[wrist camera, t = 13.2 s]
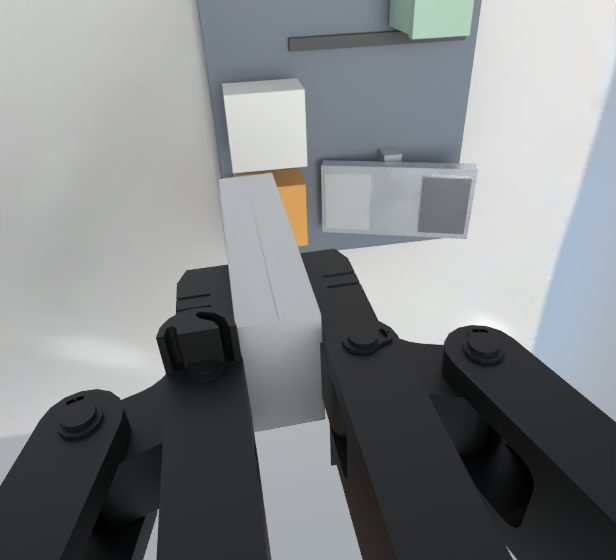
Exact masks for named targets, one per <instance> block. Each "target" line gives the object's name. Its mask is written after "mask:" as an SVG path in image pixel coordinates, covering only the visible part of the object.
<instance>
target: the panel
mask: <svg viewBox="0 0 616 560" xmlns="http://www.w3.org/2000/svg"><path fill="white" fill-rule="evenodd" d="M198 7H199V14H200V22H201V29H202V36H203V44H204V51H205V58H206V66H207V73H208V80H209V88H210V95H211V102H212V109H213V117H214V124H215V131H216V139H217V146H218V153H219V161H220V168H221V175H222V179H223V178H232V177H234V176H233V174H242V173H233V169H232V161H231V153H230V145H229V136H228V128H227V120H226V112H225V104H224V96H223V87H222V84H224V83H237V82H251V81H264V80H278V79H292V78H297V79H298V80H299V82H300V83H301V85H302V86H303V88H304V89H305V113H306V140H307V166H306V167H296V168H299V170H300V172H301V175H302V177H303V179H304V182H305V184H306V209H307V234H308V245H305V246H298V249H299V252H300V253H305V252H312V251H319V250H327V249H336V250H344V249H353V248H361V247H370V246H379V245H387V244H396V243H405V242H414V241H422V240H431V239H440V238H439V237H418V236H397V235H375V234H354V233H333V232H322V186H321V164H322V162H323V160H342V161H382V162H421V163H459V160H460V153H461V146H462V139H463V131H464V124H465V117H466V110H467V102H468V95H469V88H470V80H471V73H472V66H473V59H474V51H475V44H476V37H477V30H478V22H479V15H480V8H481V0H474V6H473V13H472V21H471V29H470V36H455V37H440V38H425V39H411V38H409V35H408V34H406V33H404V32H402V31H400V30H398V29H395V28H393V27H391V26H389V8H390V0H198ZM285 169H295V168H285ZM285 169H275V170H285ZM264 171H274V170H264ZM264 171H254V172H264ZM243 173H253V172H243Z"/></svg>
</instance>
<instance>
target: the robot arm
mask: <svg viewBox="0 0 616 560" xmlns="http://www.w3.org/2000/svg"><path fill="white" fill-rule="evenodd" d="M218 180H219V189H220V197H221V206H222V215H223V224H224V232H225V241H226V250H227V258H228V265H222V266H215V267H207V268H200V269H193V270H186V272H185V273H184V275H183V276H182V278H181V279H180V281H179V282H178V283H177V297H176V299H177V301H176V315H175V316H173V317H171V318H169V319H168V320H167V321H166V322H165V323H164V324H163V325H162V326H161V327H160V329H159V331H158V334H157V337H156V340H157V343H158V347H159V350H160V354H161V357H162V361H163V364H164V368H165V372H166V375H165V376H164V377H163V378H162V379H161V380H160V381H158V382H157V383H156V384H154V385H153V386H151V387H150V388H148V389H146V390H144V391H142V392H139V393H137V394H135V395H132V396H130V397H127V398H125V399H123V400H120V398H119V397H117V396H116V395H115V394H113V393H112V392H110V391H105V390H99V389H94V390H87V391H81V392H78V393H76V394H73V395H71V396H68V397H66V398H64V399H62V400H61V401H60V402H58V403H57V404H55V405H54V406H52V407H51V408H50V409H49V410H48V411H47V413H46V414H45V415H44V416H43V417H42V419H41V420H40V421H39V423H38V425H37V426H36V428H35V430H34V431H33V433H32V434H31V436H30V438H29V440H28V441H27V443H26V445H25V446H24V448H23V449H22V451H21V453H20V454H19V456H18V458H17V459H16V461H15V463H14V464H13V466H12V468H11V469H10V471H9V472H8V474H7V476H6V477H5V479H4V481H3V482H2V484H1V486H0V560H143V558H144V555H145V551H146V548H147V545H148V542H149V539H150V535H151V532H152V529H153V526H154V522H155V519H156V516H157V509H159V524H158V543H157V560H271V554H270V546H269V539H268V531H267V524H266V516H265V509H264V501H263V493H262V486H261V478H260V471H259V463H258V455H257V449H256V444H255V437H254V432H257V431H263V430H269V429H274V428H280V427H285V426H290V425H296V424H301V423H307V422H312V421H318V420H323V419H325V408H326V412H327V415H328V419H329V422H330V445H331V465H337V468H338V471H339V475H340V479H341V482H342V486H343V489H344V493H345V497H346V500H347V504H348V508H349V511H350V515H351V519H352V522H353V526H354V530H355V533H356V537H357V540H358V544H359V548H360V551H361V555H362V559H363V560H513V559H512V557H511V555H510V553H509V551H508V549H507V547H508V548H509V550H510V551H511V552H512V554H513V555H514V556H515V557H516V558H517V560H616V422H615V421H613V420H612V419H611V418H610V417H609V416H608V415H606V414H605V413H604V412H603V411H601V410H600V409H599V408H598V407H596V406H595V405H594V404H593V403H592V402H590V401H589V400H588V399H587V398H585V397H584V396H583V395H582V394H580V393H579V392H578V391H577V390H576V389H574V388H573V387H572V386H571V385H569V384H568V383H567V382H565V380H563V379H562V378H561V377H560V376H559V375H557V374H556V373H555V372H554V371H552V370H551V369H550V368H549V367H548V366H546V365H545V364H544V363H543V362H541V361H540V360H539V359H538V358H537V357H535V356H534V355H533V354H532V353H530V352H529V351H528V350H527V349H525V348H524V347H523V346H522V345H521V344H519V343H518V342H517V341H516V340H514V339H513V338H512V337H510V336H509V335H507V334H505V333H504V332H502V331H500V330H497V329H494V328H490V327H487V326H476V325H470V326H465V327H460V328H458V329H456V330H454V331H453V332H451V333H449V335H448V337H447V338H446V340H445V342H444V345H434V344H420V343H414V342H408V341H405V340H402V339H399V337H398V335H397V334H396V333H395V332H394V331H393V330H392V328H391V327H389V326H387V325H385V324H383V323H382V322H380V321H378V319H377V317H376V315H375V313H374V311H373V309H372V307H371V305H370V303H369V300H368V298H367V296H366V294H365V292H364V290H363V288H362V286H361V284H359V280H358V278H357V276H356V274H354V270H353V268H352V266H351V264H350V262H349V260H348V258H347V257H345V256H344V255H343V254H341V253H340V252H338V251H337V250H336V249H327V250H319V251H312V252H305V253H300V252H299V249H298V246H297V243H296V240H295V238H294V235H293V232H292V229H291V226H290V223H289V220H288V217H287V214H286V211H285V209H284V206H283V203H282V200H281V197H280V194H279V191H278V188H277V185H276V182H275V180H274V177H273V174H272V173H266V174H258V175H249V176H240V177H232V178H223V179H218ZM506 546H507V547H506Z"/></svg>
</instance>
